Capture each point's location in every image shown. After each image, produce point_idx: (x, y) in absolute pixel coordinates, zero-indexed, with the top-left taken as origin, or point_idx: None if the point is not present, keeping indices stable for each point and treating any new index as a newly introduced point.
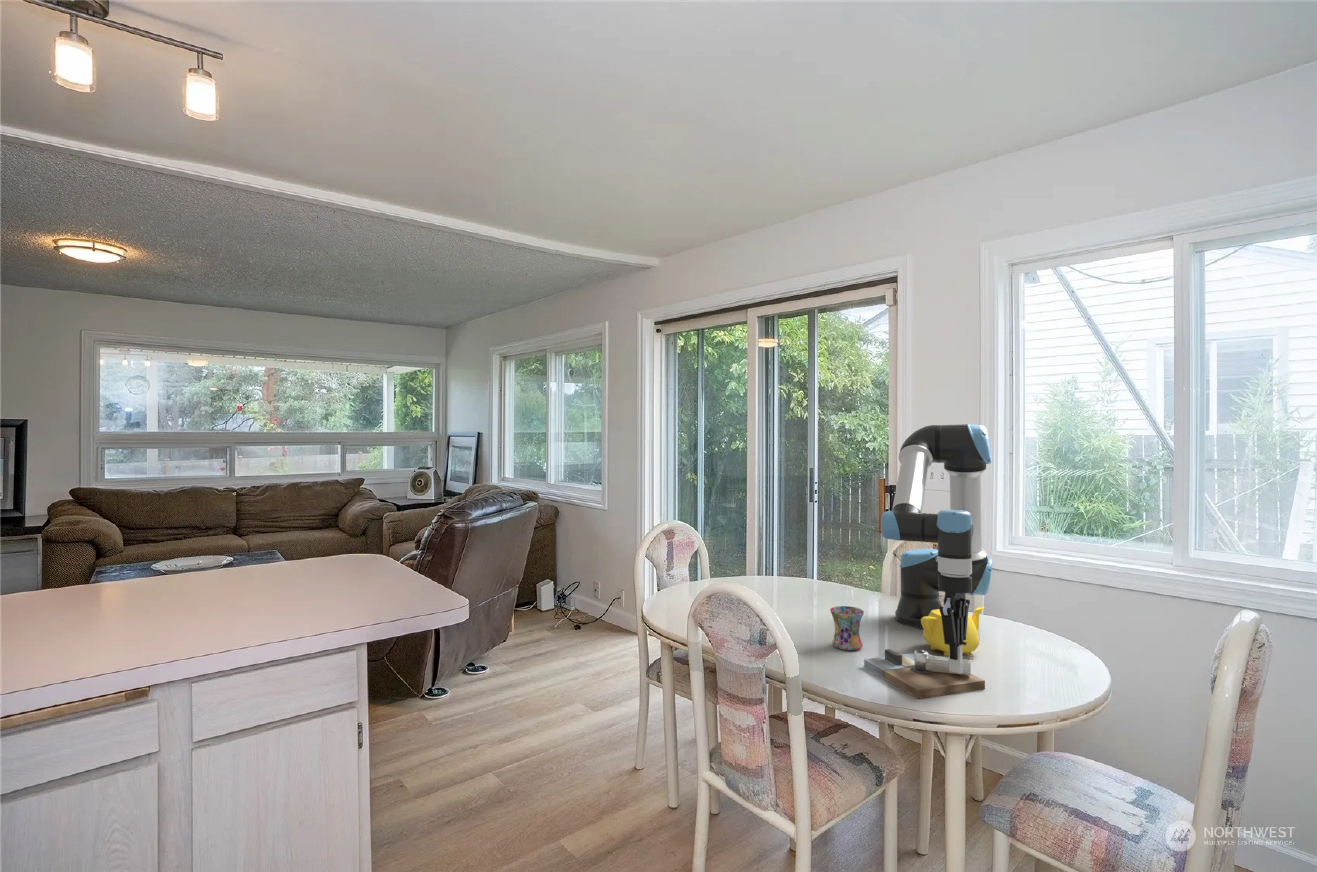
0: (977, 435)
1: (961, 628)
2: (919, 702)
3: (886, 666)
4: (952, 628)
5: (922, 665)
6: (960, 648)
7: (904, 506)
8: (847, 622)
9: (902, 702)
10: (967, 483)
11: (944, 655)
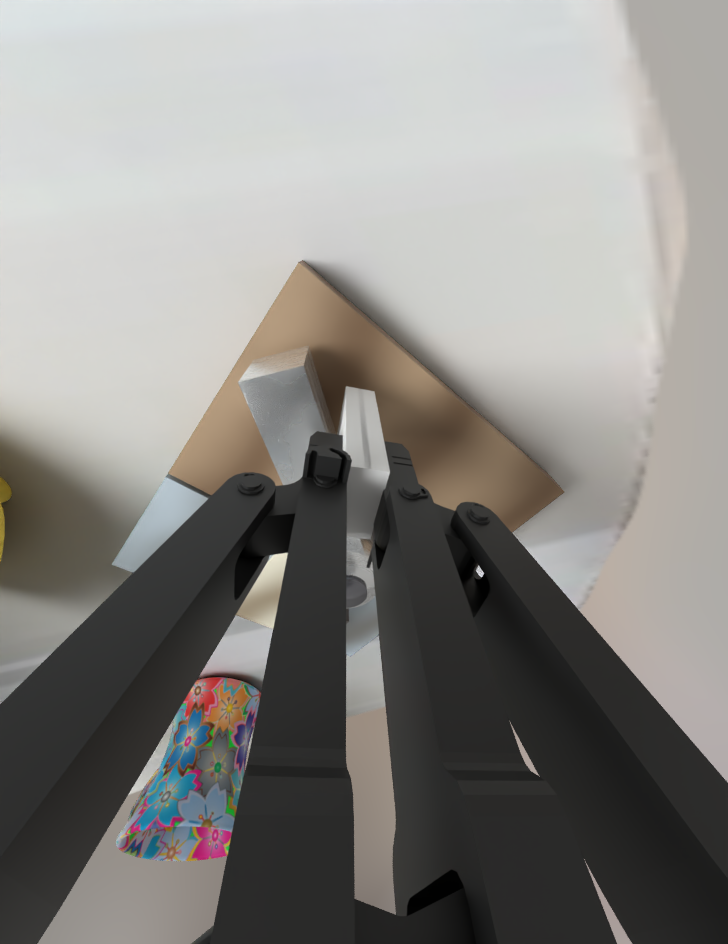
0: None
1: (344, 586)
2: (578, 463)
3: (376, 607)
4: (612, 660)
5: (371, 539)
6: (383, 463)
7: None
8: (238, 792)
9: (592, 502)
10: None
11: (7, 498)
